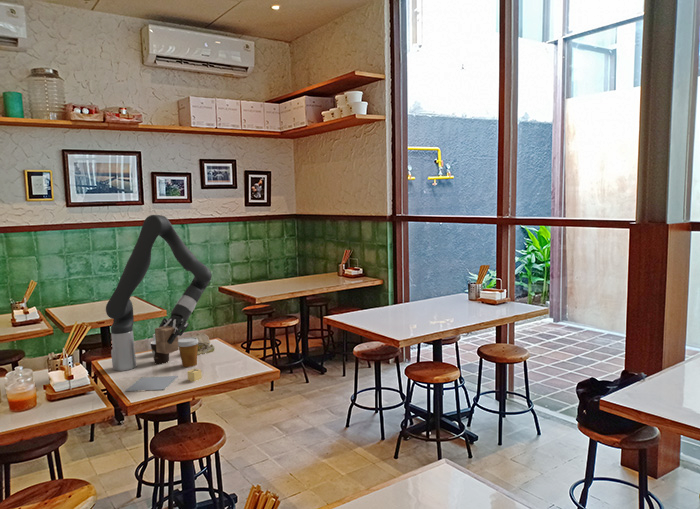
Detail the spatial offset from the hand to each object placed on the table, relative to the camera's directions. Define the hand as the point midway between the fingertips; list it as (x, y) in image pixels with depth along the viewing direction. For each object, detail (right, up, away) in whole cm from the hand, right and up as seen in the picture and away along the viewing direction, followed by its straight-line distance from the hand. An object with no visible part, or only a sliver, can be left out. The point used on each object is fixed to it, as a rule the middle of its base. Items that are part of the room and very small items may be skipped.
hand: (163, 341), depth 218 cm
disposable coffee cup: (+3, -15, +26) cm, 30 cm away
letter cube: (+12, -17, +5) cm, 21 cm away
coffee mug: (-13, -15, +34) cm, 39 cm away
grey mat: (-5, -18, +2) cm, 19 cm away
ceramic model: (+2, -13, +47) cm, 49 cm away
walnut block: (+1, -4, +2) cm, 5 cm away
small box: (-16, -14, +48) cm, 53 cm away
